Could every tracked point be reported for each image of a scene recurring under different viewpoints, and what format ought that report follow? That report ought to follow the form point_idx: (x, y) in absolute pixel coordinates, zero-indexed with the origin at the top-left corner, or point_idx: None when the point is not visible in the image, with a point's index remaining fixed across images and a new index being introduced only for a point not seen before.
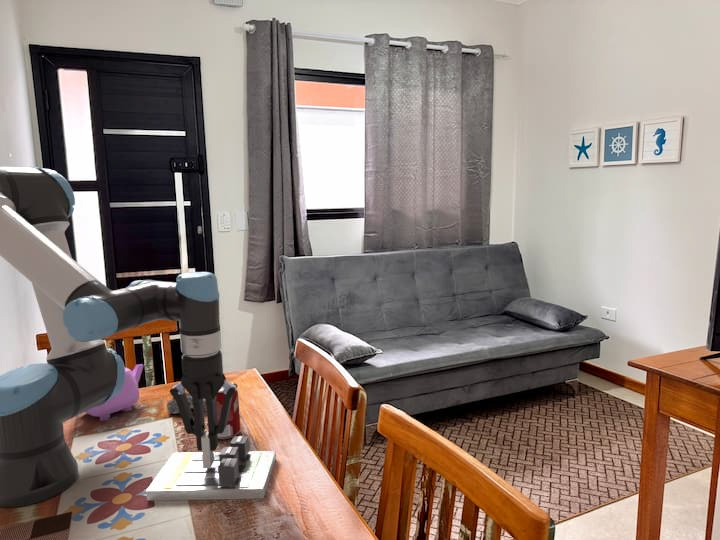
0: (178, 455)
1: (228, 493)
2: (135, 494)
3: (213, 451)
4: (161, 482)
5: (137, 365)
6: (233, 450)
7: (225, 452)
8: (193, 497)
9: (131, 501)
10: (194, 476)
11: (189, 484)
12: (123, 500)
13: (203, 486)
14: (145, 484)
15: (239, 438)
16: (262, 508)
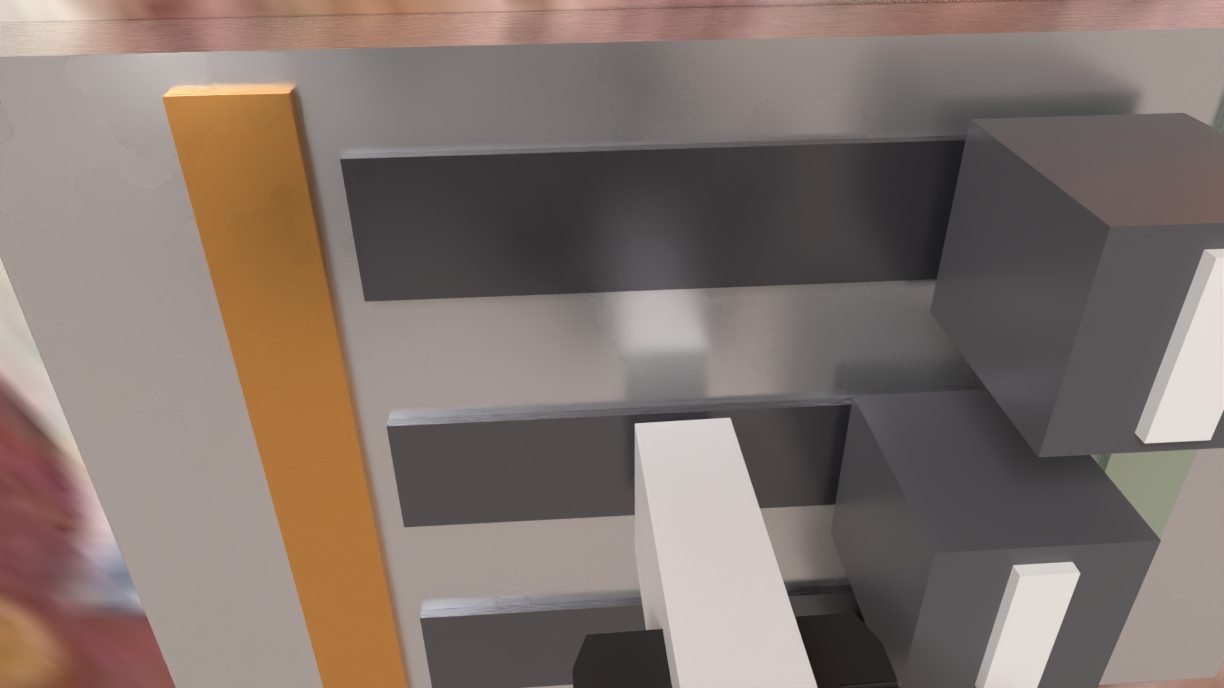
0: (67, 142)
1: None
2: (50, 604)
3: (760, 523)
4: (257, 649)
5: None
6: (1084, 614)
7: (975, 662)
8: None
9: (95, 672)
10: (554, 563)
11: (564, 681)
12: (11, 666)
13: None
14: (19, 482)
15: (1219, 337)
16: (1138, 684)
